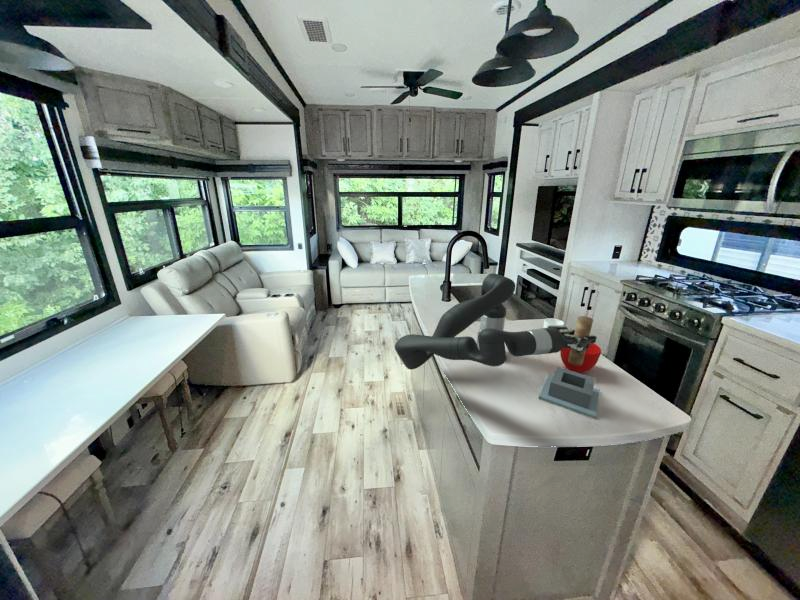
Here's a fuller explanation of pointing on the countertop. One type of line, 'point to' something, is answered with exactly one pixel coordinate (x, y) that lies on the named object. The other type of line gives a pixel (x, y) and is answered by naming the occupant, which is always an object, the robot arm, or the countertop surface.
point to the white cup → (553, 322)
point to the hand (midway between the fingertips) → (588, 335)
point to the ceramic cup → (588, 362)
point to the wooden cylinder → (581, 330)
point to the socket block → (571, 392)
